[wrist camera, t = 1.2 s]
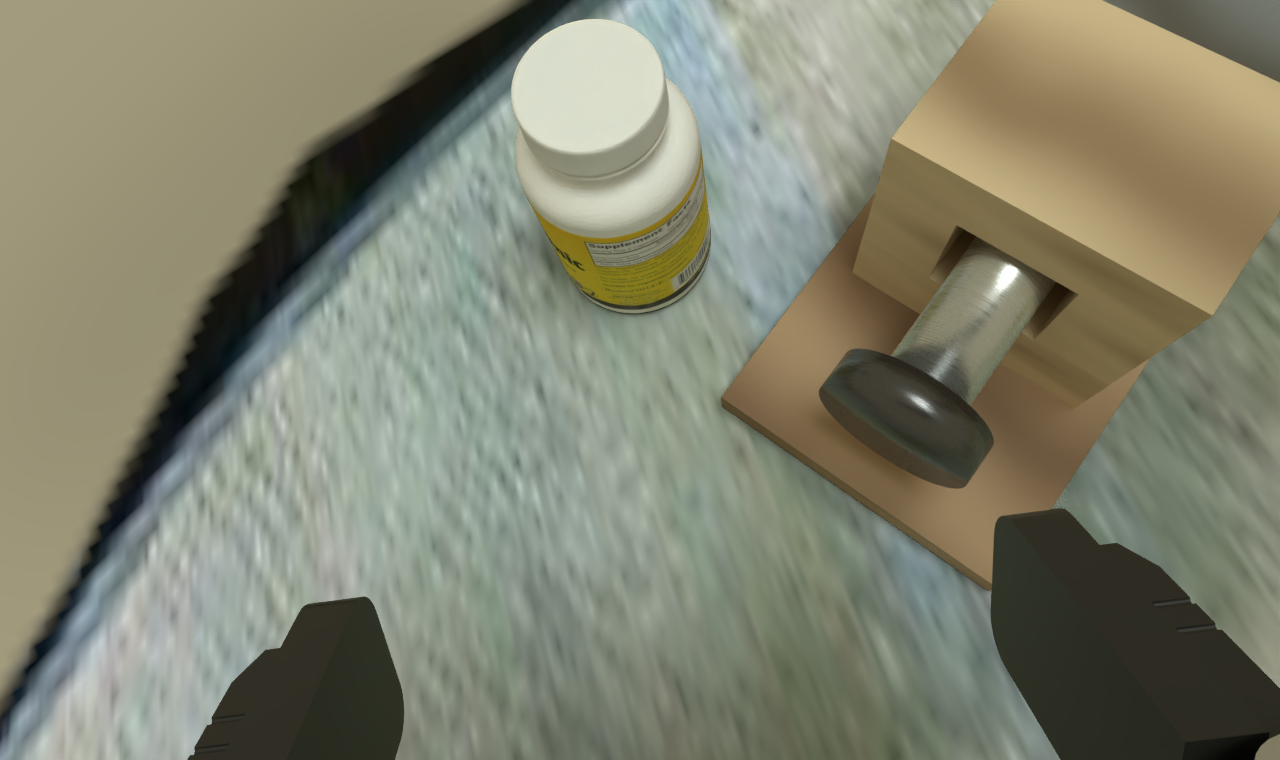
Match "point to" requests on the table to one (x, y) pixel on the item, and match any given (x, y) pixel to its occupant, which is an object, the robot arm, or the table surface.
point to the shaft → (939, 370)
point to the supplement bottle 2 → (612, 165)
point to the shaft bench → (1041, 240)
